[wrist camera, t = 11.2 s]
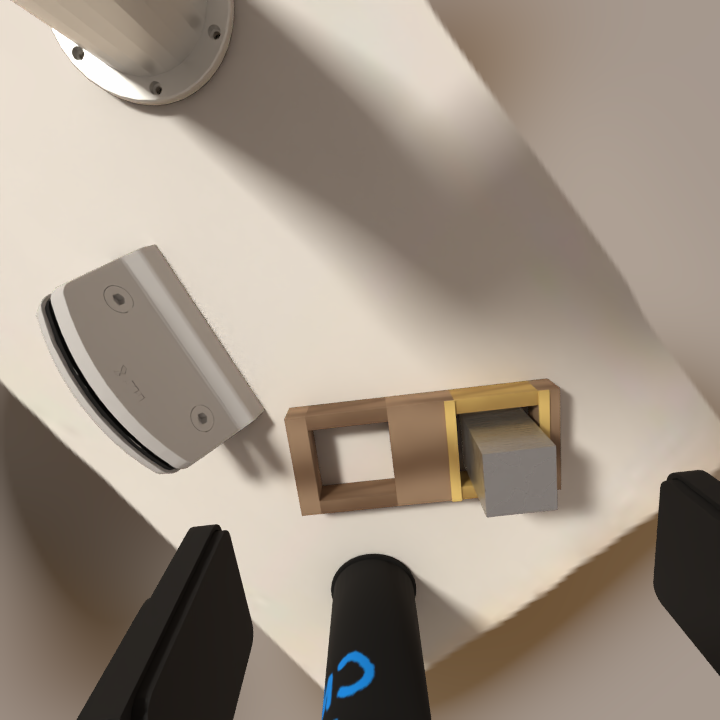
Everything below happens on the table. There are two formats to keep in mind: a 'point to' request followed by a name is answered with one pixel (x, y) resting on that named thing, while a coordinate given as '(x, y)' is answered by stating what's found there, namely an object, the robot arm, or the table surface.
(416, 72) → the table surface
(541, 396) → the wooden slotted tray
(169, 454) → the gray curved box
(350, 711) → the aerosol can
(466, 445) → the grey rectangular block
